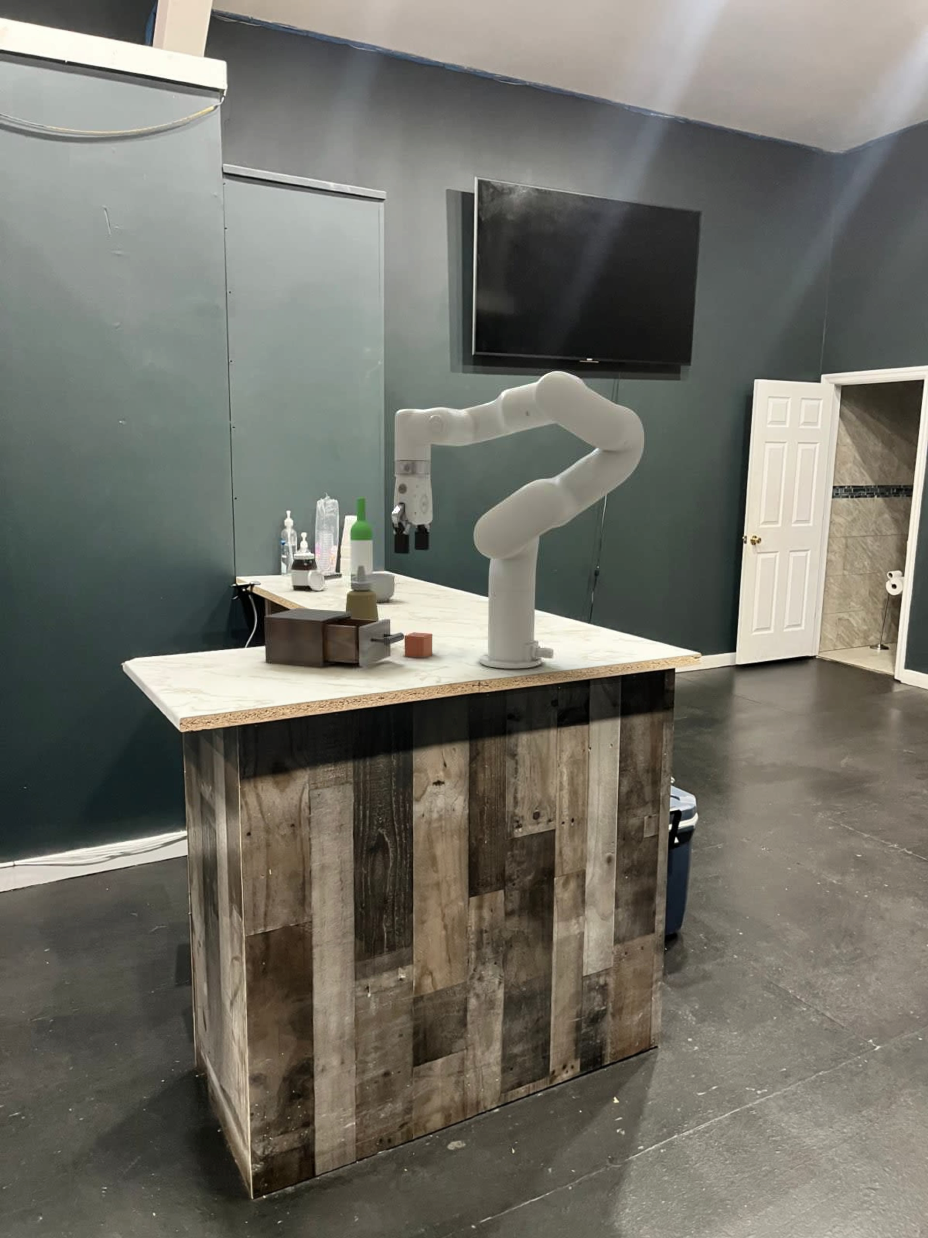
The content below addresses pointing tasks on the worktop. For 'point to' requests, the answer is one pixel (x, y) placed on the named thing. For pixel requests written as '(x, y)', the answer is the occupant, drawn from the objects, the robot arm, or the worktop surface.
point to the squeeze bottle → (362, 598)
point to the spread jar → (306, 573)
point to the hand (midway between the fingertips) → (412, 551)
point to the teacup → (381, 585)
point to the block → (418, 645)
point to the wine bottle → (361, 542)
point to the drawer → (358, 640)
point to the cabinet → (299, 636)
